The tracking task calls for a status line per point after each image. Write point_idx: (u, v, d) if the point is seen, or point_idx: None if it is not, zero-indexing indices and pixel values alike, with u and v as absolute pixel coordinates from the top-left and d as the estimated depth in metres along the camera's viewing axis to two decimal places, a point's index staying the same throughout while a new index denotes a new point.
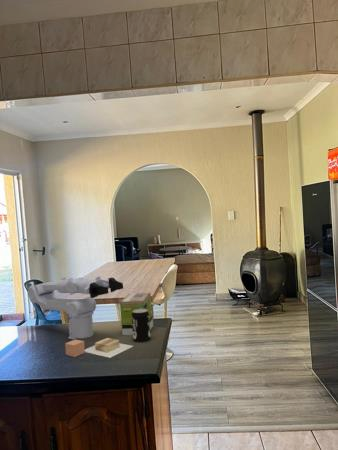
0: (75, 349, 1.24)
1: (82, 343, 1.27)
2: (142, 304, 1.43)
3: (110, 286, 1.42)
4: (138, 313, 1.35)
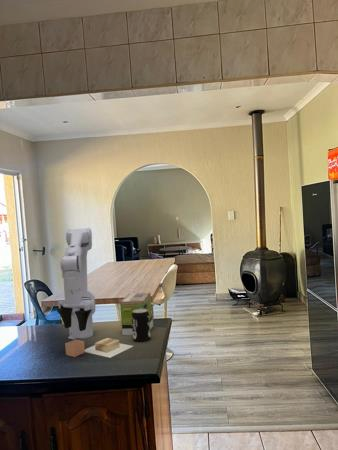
0: (75, 349, 1.24)
1: (82, 343, 1.27)
2: (142, 304, 1.43)
3: None
4: (138, 313, 1.35)
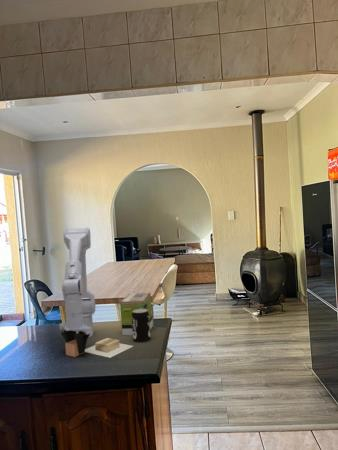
0: (75, 349, 1.24)
1: None
2: (142, 304, 1.43)
3: None
4: (138, 313, 1.35)
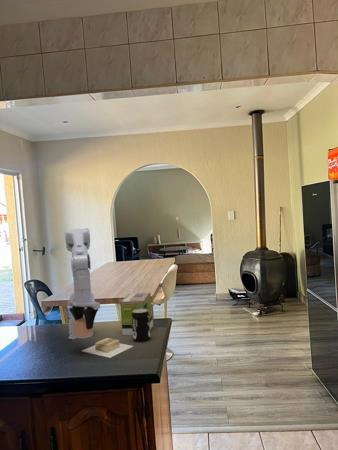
0: (83, 327, 1.25)
1: None
2: (142, 304, 1.43)
3: None
4: (138, 313, 1.35)
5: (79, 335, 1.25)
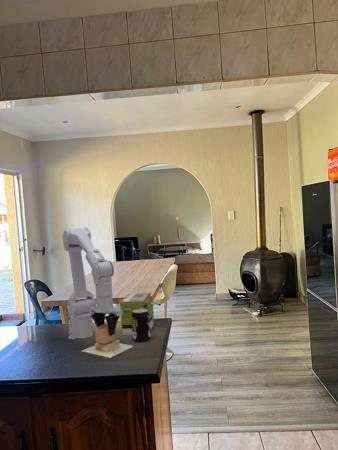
0: (105, 334, 1.26)
1: None
2: (142, 304, 1.43)
3: None
4: (138, 313, 1.35)
5: (101, 341, 1.27)
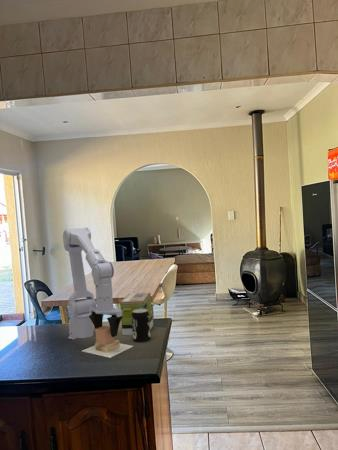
0: (105, 335, 1.27)
1: None
2: (142, 304, 1.43)
3: None
4: (138, 313, 1.35)
5: (101, 342, 1.27)
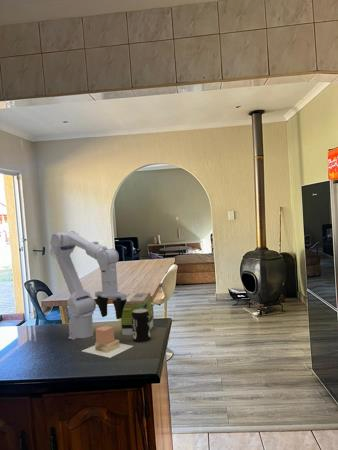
0: (105, 335, 1.27)
1: (112, 329, 1.29)
2: (142, 304, 1.43)
3: None
4: (138, 313, 1.35)
5: (101, 342, 1.27)
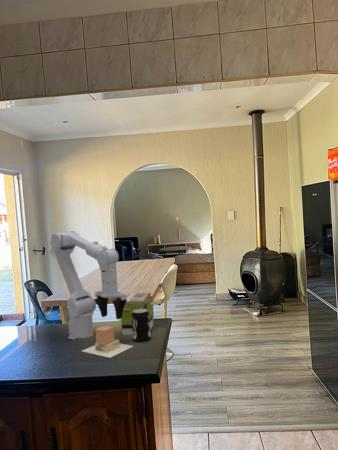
0: (105, 335, 1.27)
1: (112, 329, 1.29)
2: (142, 304, 1.43)
3: None
4: (138, 313, 1.35)
5: (101, 342, 1.27)
